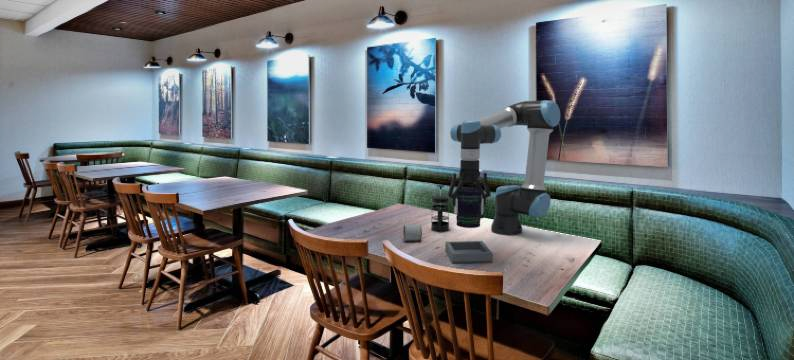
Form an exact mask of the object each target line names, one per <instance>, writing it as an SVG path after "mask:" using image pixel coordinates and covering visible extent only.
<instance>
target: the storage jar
mask: <svg viewBox="0 0 794 360" xmlns="http://www.w3.org/2000/svg"><path fill="white" fill-rule="evenodd" d="M458 192H459V193H458V195H457V197H456V198H457V199H458V212H457V215H455V216H456V218H455V219H456V226H458V227H460V228H463V229H476V228H480V227H481V219H482V216H481V215H482V214H481V212H480V203H481V197H482V195H481V190H479V189H478V188H477V187H474V186H472V187H471V186H463V187H462V188H461V190H458Z"/></svg>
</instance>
